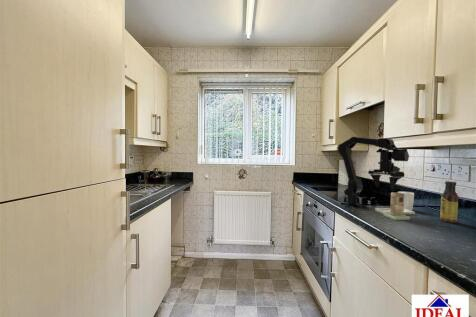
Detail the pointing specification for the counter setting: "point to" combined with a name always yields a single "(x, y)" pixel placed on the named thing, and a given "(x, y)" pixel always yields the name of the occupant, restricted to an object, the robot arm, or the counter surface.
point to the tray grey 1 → (382, 210)
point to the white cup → (408, 200)
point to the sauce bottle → (449, 203)
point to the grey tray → (408, 212)
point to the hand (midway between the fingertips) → (384, 188)
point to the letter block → (397, 204)
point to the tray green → (397, 217)
